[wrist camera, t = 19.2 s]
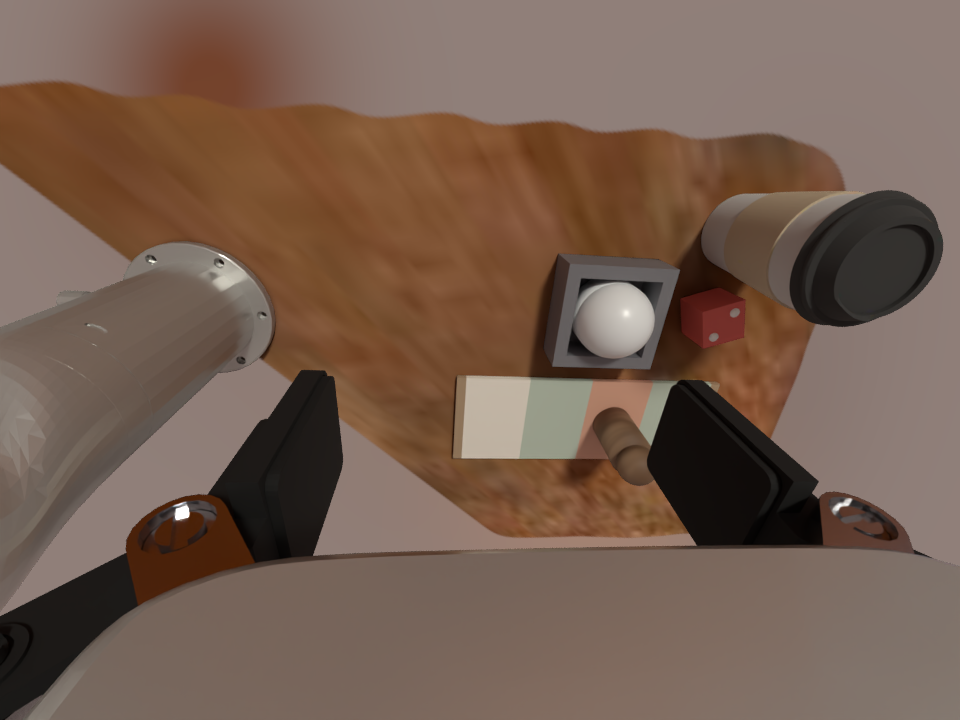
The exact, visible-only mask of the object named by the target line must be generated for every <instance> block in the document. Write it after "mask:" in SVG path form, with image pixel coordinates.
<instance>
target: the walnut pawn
mask: <svg viewBox="0 0 960 720" xmlns="http://www.w3.org/2000/svg"><path fill="white" fill-rule="evenodd" d="M593 430H594V432H595V434H596V436H597V438H598V439H599V441H600V443H601V445H602V447H603V449H604V451H605V453H606V454H607V456H608V458H609V460H610V462H611V464H612V466H613V467H614V468H615V469H616V470H617V471H618V473H619V474H620V476H621V477H622V478H623V479H624V480H625V481H626V482H628V483H630V484H632V485H637V486H642V485H646V484H649V483H651V482H652V481H653V480H654V478H653V476H652V475H651V473H650V472H649V470H648V467H647V457H648V454H649V451H650V448H651V445H650V444H649V443H648V441H647V440H646V438H645V437H644V435H643V434H642V433H641V431H640V430H639V428H638V427H637V426H636V424H635V423H634V421H633V420H632V419H631V417H630V416H629V414H628V413H627V412H626V411H625V410H624V409H622V408H619V407H611V408H607V409H605V410H603V411H601V412H600V413H599V414H598V415H597V416H596V417H595V419H594V421H593Z"/></svg>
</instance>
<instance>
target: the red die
mask: <svg viewBox="0 0 960 720" xmlns="http://www.w3.org/2000/svg"><path fill="white" fill-rule="evenodd" d="M680 305H681V327H682V333H683V334H684V335H685V336H687V337H688V338H689V339H691V340H692V341H693V342H695V343H696V344H697V345H699V346H700V347H701V348H703V349H704V348H708V347H712V346H715V345H719V344H722V343H726V342H729V341H733V340H737V339H740V338H744V324H745V299H743V298H740V297H738V296H736V295H734V294H732V293H730V292H728V291H726V290H724V289H722V288H720V287H718V288H715V289H711V290H708V291H704V292H701V293H697V294H694V295H691V296H687V297H684V298H680Z"/></svg>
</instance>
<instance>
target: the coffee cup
mask: <svg viewBox="0 0 960 720" xmlns="http://www.w3.org/2000/svg"><path fill="white" fill-rule="evenodd" d="M701 246H702V250H703V253H704V255H705V256H706V258H707V259H708V260H709V261H710V262H712V263H713V264H715V265H717V266H718V267H720V268H722V269H724V270H725V271H727V272H729V273H731V274H732V275H733V276H734V277H736V278H737V279H739V280H740V281H742V282H744V283H745V284H747V285H749V286H751V287H752V288H754V289H756V290H757V291H759V292H761V293H762V294H764V295H766V296H767V297H769V298H771V299H772V300H774V301H776V302H777V303H779V304H781V305H783V306H785V307H787V308H790V309H794V310H796V311H797V312H798V314H799V315H800V316H802V317H803V318H804V319H806V320H808V321H809V322H812V323H815V324H820V325H831V326H837V327H847V326H854V325H859V324H863V323H866V322H869V321H872V320H874V319H876V318H879V317H882V316H885V315H888V314H890V313H892V312H894V311H896V310H898V309H900V308H901V307H903V306H904V305H906V304H907V303H909V302H910V301H911V300H912V299H914V298H915V297H916V296H917V295H918V294H919V293H920V292H921V291H922V290H923V289H924V287H926V285H927V284H928V283H929V281H930V280H931V279H932V277H933V275H934V274H935V272H936V270H937V268H938V265H939V263H940V260H941V257H942V252H943V239H942V235H941V232H940V230H939V228H938V224H937V221H936V218H935V216H934V214H933V213H932V211H931V210H930V209H929V208H928V207H927V206H926V205H925V204H923V203H922V202H920V201H918V200H916V199H915V198H914V197H912V196H910V195H908V194H906V193H903V192H899V191H892V190H890V191H889V190H886V191H878V192H873V193H869V194H865V193H862V192H856V191H823V192H778V193H772V194H740V195H736V196H733V197H731V198H729V199H727V200H725V201H724V202H722V203H721V204H720V205H719V206H718V207H717V208H716V209H715V210H714V211H713V212H712V213H711V214H710V216H709V217H708V219H707V221H706V223H705V225H704V228H703V231H702V236H701Z"/></svg>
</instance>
